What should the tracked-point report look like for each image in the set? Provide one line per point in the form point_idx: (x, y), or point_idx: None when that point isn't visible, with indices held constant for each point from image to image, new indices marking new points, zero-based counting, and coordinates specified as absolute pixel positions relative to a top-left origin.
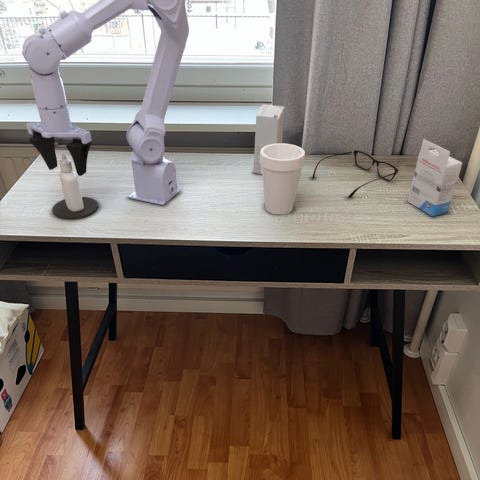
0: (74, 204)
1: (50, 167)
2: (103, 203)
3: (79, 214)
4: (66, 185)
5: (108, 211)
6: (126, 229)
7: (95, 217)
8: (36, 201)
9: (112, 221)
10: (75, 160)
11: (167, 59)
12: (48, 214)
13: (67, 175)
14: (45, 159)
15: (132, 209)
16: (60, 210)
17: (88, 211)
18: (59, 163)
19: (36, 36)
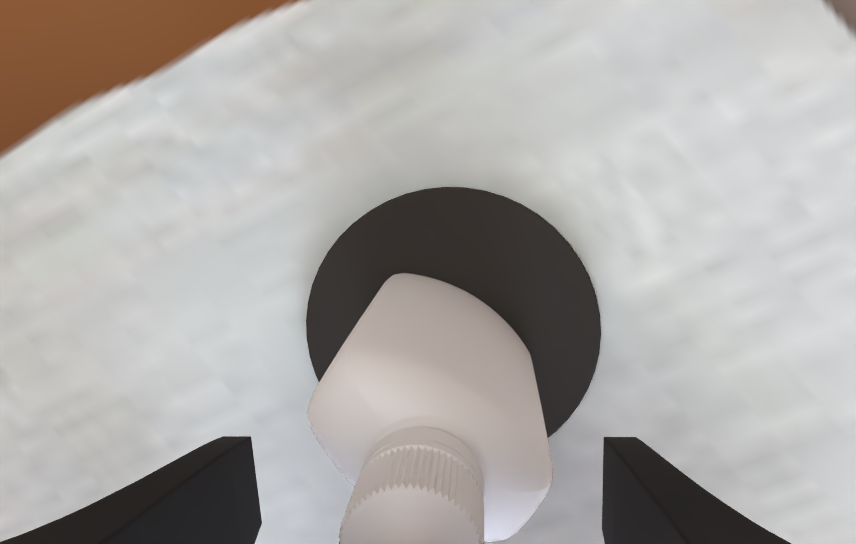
0: (379, 291)
1: (610, 449)
2: None
3: (354, 264)
4: (385, 335)
5: (251, 385)
6: (19, 254)
7: (267, 293)
8: (773, 306)
9: (148, 296)
10: (95, 521)
11: None
12: (567, 195)
13: (370, 408)
14: (664, 487)
15: (149, 457)
16: (505, 255)
17: (331, 320)
18: (454, 491)
19: None
